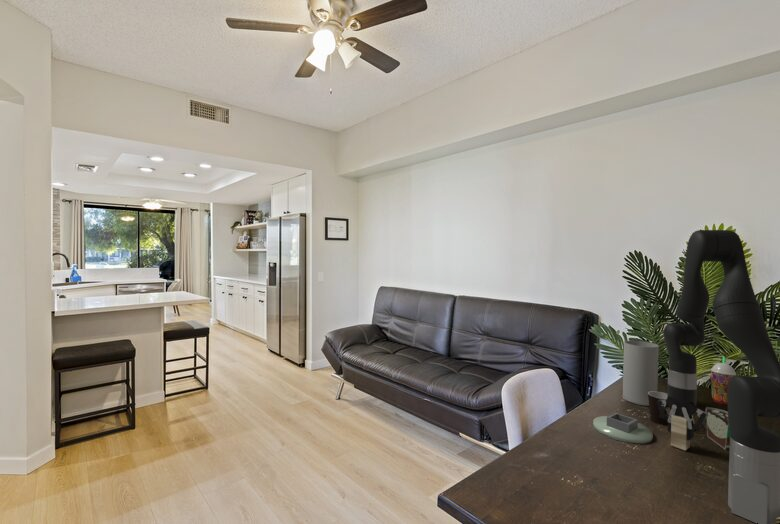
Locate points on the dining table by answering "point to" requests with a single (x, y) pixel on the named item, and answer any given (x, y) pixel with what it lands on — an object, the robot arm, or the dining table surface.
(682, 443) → the beige rectangular block
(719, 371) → the smoothie
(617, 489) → the dining table surface
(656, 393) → the coffee mug
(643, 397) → the cylinder vase
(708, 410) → the food container
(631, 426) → the clip plate
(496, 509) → the dining table surface
